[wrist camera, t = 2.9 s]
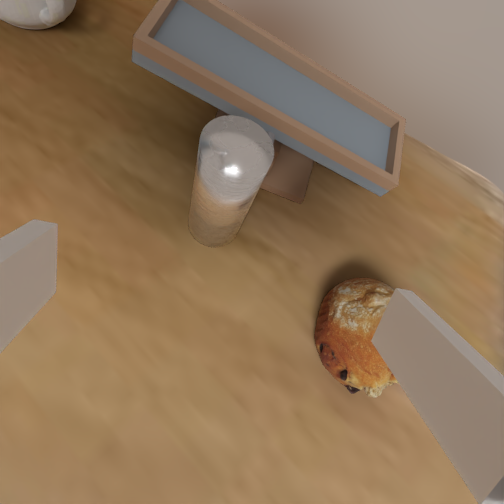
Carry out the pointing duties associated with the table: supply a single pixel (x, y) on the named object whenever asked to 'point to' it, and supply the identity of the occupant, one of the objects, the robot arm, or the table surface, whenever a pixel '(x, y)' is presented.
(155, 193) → the table surface
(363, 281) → the bread roll
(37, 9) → the teacup
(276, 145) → the fulcrum
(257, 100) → the rectangular tray
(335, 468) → the table surface
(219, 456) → the table surface
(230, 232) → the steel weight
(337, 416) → the table surface
